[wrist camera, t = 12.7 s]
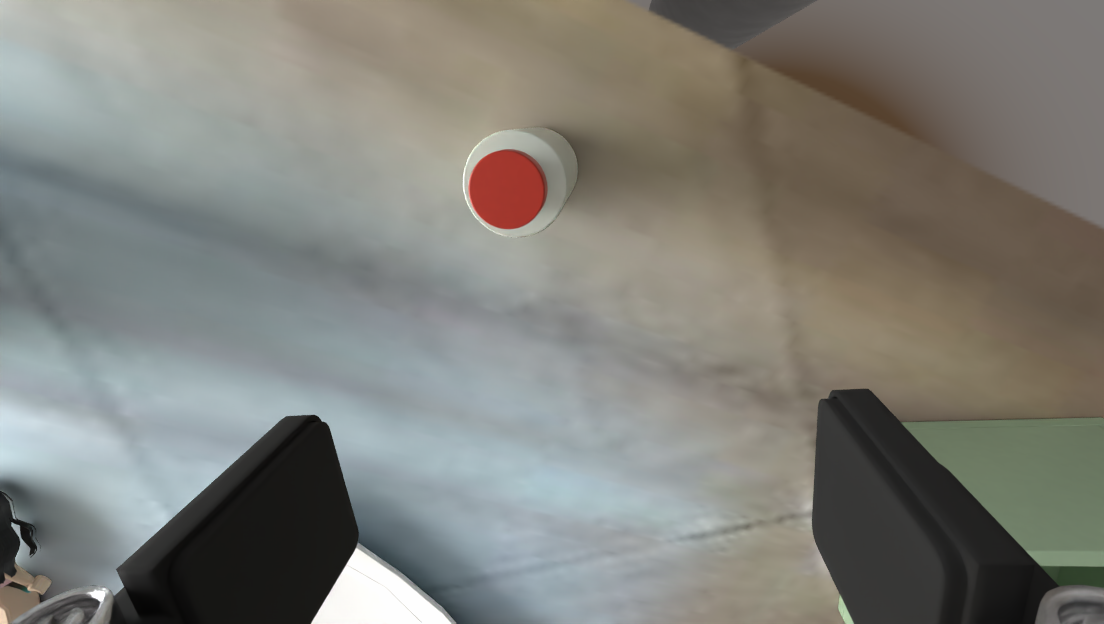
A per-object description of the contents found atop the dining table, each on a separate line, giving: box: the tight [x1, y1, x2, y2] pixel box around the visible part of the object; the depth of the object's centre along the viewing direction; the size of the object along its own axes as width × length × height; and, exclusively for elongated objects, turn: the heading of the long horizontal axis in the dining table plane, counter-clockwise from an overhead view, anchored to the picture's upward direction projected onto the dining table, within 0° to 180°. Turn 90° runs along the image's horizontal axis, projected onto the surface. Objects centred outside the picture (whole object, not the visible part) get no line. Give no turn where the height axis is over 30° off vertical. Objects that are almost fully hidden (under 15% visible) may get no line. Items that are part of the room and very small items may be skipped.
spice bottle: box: [463, 127, 578, 238], centre depth 25 cm, size 4×4×9 cm
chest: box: [838, 417, 1104, 624], centre depth 29 cm, size 15×13×10 cm
